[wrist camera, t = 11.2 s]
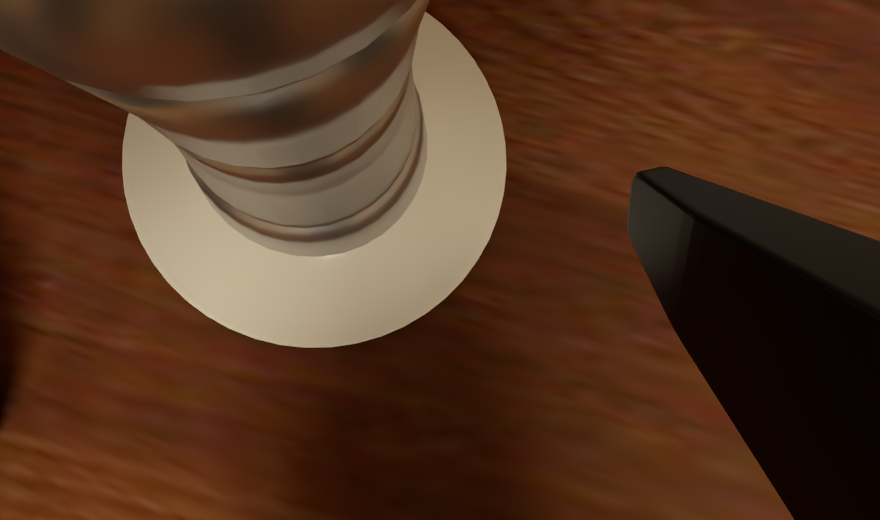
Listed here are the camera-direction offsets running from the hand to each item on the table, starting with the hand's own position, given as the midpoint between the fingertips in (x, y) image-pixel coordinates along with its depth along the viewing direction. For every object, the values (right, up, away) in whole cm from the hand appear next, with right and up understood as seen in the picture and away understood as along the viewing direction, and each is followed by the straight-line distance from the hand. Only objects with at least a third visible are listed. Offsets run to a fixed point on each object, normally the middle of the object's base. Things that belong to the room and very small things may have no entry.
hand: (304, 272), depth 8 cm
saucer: (-2, +3, +13) cm, 14 cm away
